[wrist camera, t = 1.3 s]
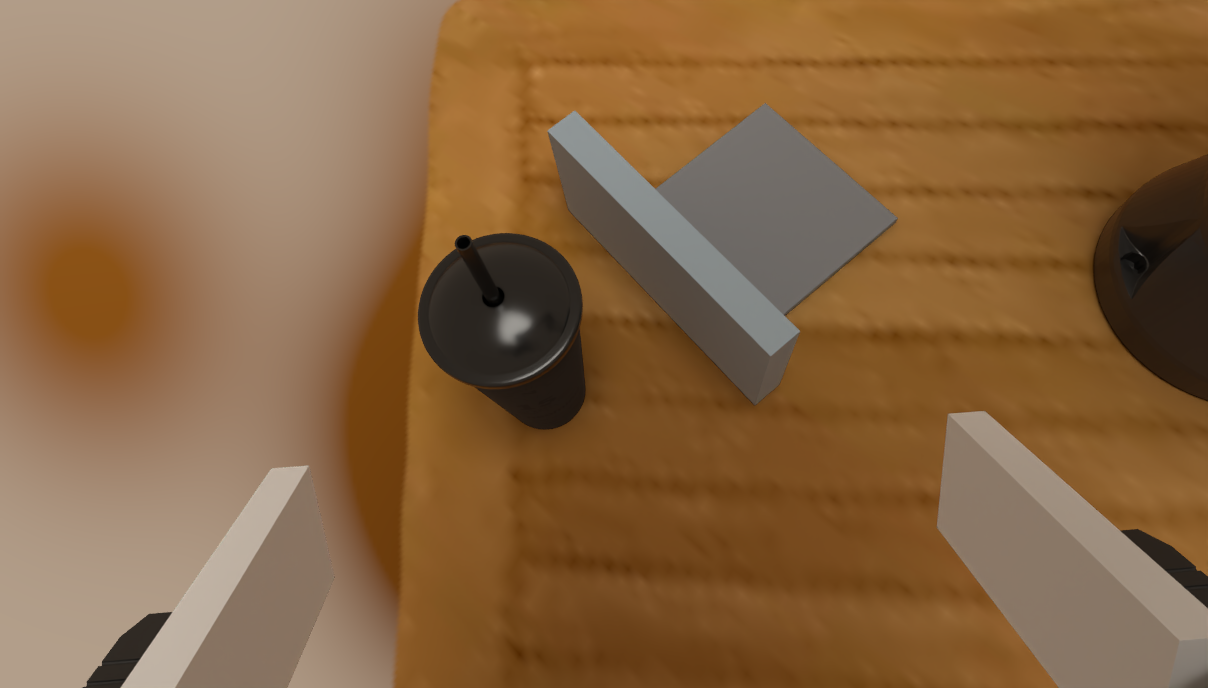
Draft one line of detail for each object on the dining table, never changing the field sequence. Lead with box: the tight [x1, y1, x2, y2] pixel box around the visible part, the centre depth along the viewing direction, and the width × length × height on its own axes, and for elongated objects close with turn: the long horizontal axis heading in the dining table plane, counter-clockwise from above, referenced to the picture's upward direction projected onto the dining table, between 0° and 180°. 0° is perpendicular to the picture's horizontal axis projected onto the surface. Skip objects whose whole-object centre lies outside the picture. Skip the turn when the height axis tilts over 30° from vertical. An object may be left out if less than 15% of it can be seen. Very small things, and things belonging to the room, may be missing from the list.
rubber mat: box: [656, 103, 898, 316], centre depth 52 cm, size 12×12×1 cm
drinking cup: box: [418, 233, 585, 429], centre depth 40 cm, size 8×8×20 cm
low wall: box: [548, 111, 800, 405], centre depth 47 cm, size 2×18×9 cm, turn 40°
